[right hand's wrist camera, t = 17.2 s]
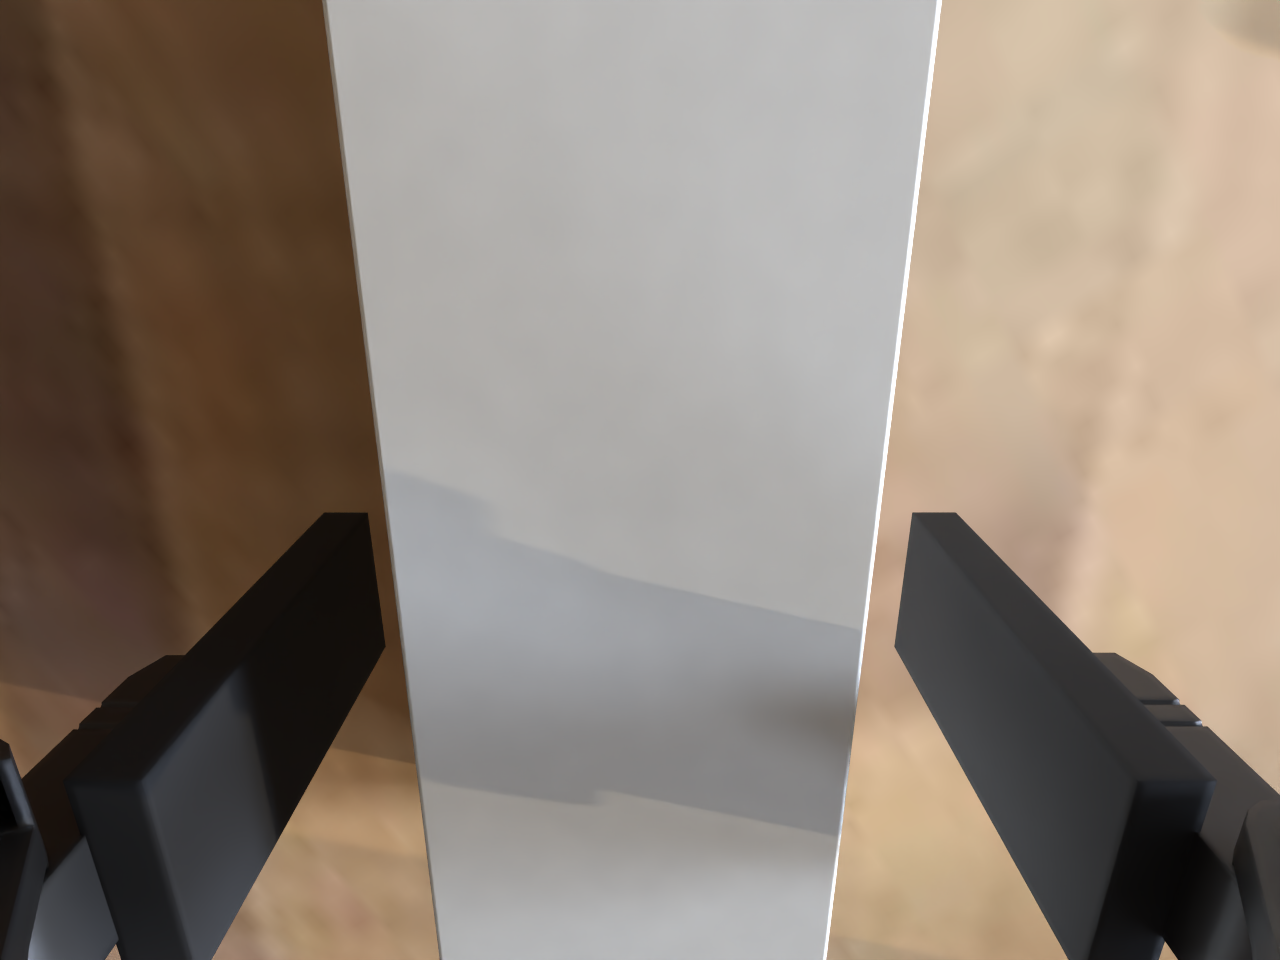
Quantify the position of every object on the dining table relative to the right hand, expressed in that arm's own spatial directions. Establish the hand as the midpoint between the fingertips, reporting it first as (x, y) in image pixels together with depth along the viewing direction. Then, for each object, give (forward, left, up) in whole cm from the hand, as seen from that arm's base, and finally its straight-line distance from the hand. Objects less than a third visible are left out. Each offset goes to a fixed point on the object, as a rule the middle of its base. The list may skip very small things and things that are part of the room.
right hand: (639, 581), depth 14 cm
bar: (+10, -32, -3) cm, 34 cm away
